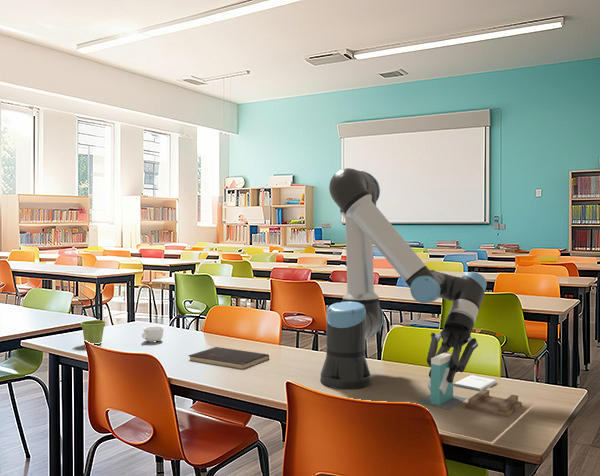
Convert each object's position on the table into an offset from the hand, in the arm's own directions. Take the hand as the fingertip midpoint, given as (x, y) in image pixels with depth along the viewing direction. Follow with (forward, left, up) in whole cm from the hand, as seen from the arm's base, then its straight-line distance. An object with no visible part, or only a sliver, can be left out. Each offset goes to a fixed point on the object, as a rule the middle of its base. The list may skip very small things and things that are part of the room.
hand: (436, 390), depth 145 cm
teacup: (-94, -77, -4) cm, 122 cm away
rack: (+5, +14, -4) cm, 15 cm away
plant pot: (-93, -99, -4) cm, 136 cm away
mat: (-2, +3, -4) cm, 6 cm away
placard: (-2, +3, -4) cm, 5 cm away
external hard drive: (-15, +20, -5) cm, 26 cm away
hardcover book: (-59, -49, -5) cm, 77 cm away
